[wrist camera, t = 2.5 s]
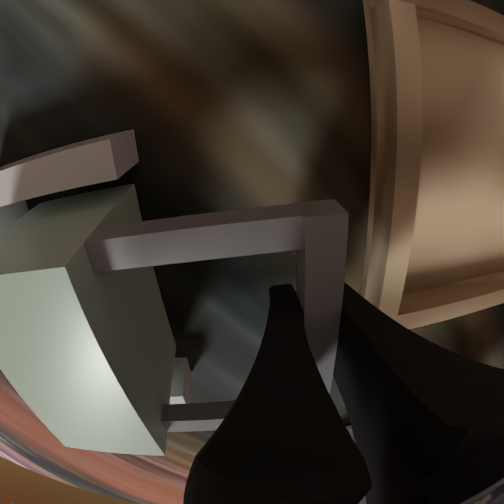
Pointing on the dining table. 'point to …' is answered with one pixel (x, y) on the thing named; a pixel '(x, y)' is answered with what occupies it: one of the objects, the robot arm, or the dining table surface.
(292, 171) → the dining table surface
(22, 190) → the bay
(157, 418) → the tall sage green box
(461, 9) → the tray
